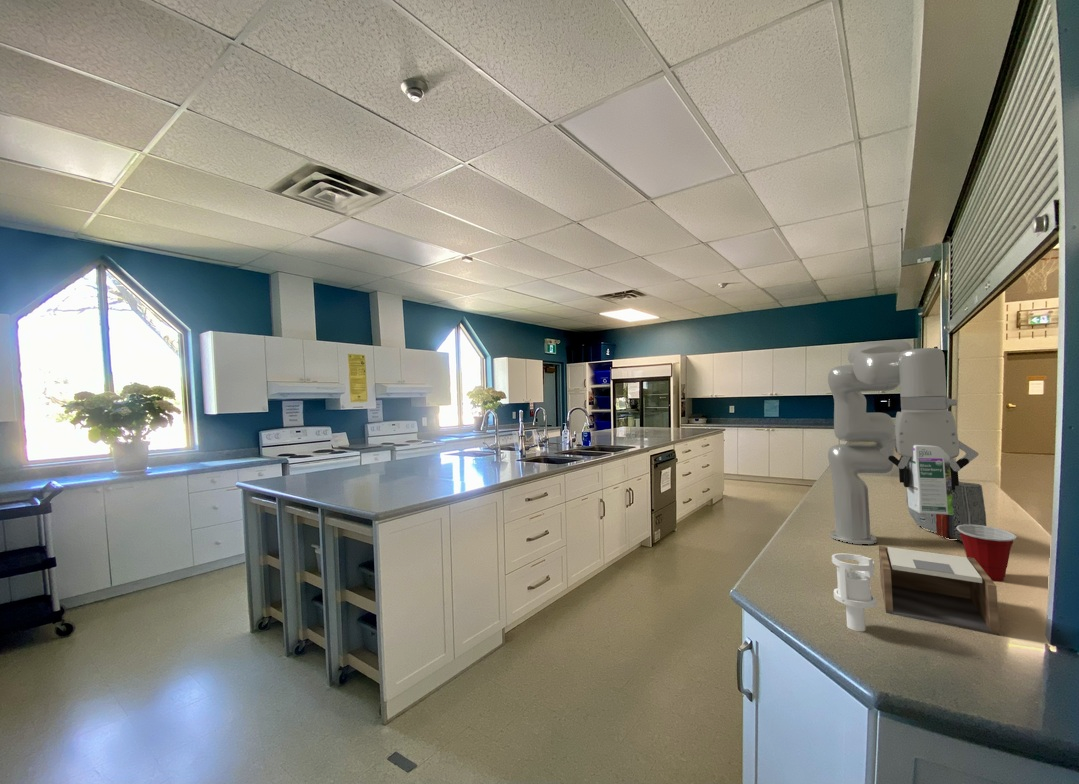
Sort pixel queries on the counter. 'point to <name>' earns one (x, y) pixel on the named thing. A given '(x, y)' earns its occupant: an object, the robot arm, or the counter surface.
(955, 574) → the trapdoor
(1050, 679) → the counter surface
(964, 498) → the decorative stone tablet
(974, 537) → the plastic cup
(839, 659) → the counter surface
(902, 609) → the trapdoor frame
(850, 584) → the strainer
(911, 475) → the syrup box
